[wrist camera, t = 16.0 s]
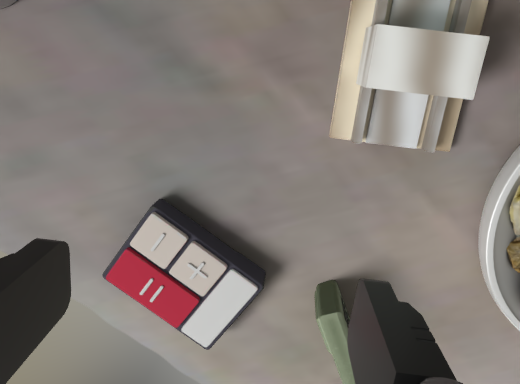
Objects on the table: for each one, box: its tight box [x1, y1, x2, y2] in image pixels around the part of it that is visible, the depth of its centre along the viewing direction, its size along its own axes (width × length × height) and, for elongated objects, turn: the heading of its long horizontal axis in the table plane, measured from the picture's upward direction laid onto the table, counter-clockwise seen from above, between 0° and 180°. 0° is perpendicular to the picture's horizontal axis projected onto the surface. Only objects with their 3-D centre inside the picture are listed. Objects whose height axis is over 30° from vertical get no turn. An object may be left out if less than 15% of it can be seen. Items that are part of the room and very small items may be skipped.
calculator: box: [103, 199, 266, 350], centre depth 47 cm, size 11×4×15 cm
